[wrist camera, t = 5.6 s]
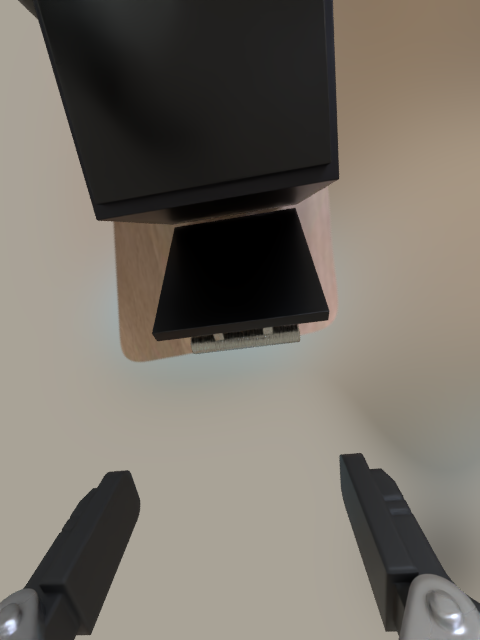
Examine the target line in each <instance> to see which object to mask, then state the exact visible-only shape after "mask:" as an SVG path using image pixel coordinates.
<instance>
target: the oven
mask: <svg viewBox="0 0 480 640" xmlns="http://www.w3.org/2000/svg"><path fill="white" fill-rule="evenodd" d="M33 3H34V7H35V10H36V14H37V17H38V20H39V24H40V27H41V31H42V34H43V37H44V41H45V44H46V48H47V51H48V54H49V58H50V61H51V65H52V68H53V72H54V75H55V78H56V82H57V85H58V89H59V92H60V96H61V99H62V102H63V106H64V109H65V113H66V116H67V120H68V123H69V126H70V130H71V133H72V137H73V140H74V144H75V147H76V151H77V154H78V157H79V161H80V164H81V168H82V171H83V174H84V178H85V181H86V185H87V188H88V192H89V195H90V199H91V202H92V205H93V208H94V212H95V216H96V219H97V220H98V221H116V222H135V223H153V224H171V225H173V224H179V223H185V222H191V221H197V220H203V219H210V218H216V217H222V216H228V215H234V214H240V213H246V212H252V211H258V210H264V209H270V208H276V207H282V206H289V205H295V204H298V203H299V202H301V201H303V200H304V199H306V198H308V197H310V196H311V195H313V194H315V193H316V192H318V191H320V190H321V189H323V188H325V187H326V186H328V185H330V184H331V183H333V182H335V181H336V180H338V179H339V163H338V162H339V160H338V133H337V105H336V79H335V78H336V77H335V51H334V21H333V0H33Z"/></svg>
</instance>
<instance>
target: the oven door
mask: <svg viewBox="0 0 480 640" xmlns="http://www.w3.org/2000/svg"><path fill="white" fill-rule="evenodd" d="M328 317H329V308H328V305H327V302H326V299H325V296H324V293H323V290H322V287H321V284H320V281H319V278H318V275H317V272H316V269H315V266H314V263H313V260H312V257H311V254H310V251H309V248H308V245H307V242H306V239H305V236H304V233H303V230H302V227H301V223H300V220H299V217H298V214H297V211H296V208H292V209H286V210H280V211H273V212H267V213H261V214H255V215H249V216H243V217H237V218H231V219H224V220H218V221H212V222H206V223H200V224H194V225H188V226H182V227H175V229H174V234H173V238H172V243H171V248H170V252H169V257H168V262H167V266H166V271H165V276H164V280H163V285H162V290H161V294H160V299H159V304H158V309H157V313H156V318H155V323H154V327H153V332H152V334H153V336H154V337H155V339H156V340H157V341H163V340H171V339H179V338H188V337H191V349H192V352H193V353H194V354H199V353H208V352H217V351H225V350H234V349H242V348H251V347H259V346H267V345H276V344H285V343H293V342H299V341H300V332H299V326H298V324H301V323H309V322H317V321H325V320H328Z"/></svg>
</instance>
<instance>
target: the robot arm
mask: <svg viewBox="0 0 480 640" xmlns="http://www.w3.org/2000/svg"><path fill="white" fill-rule="evenodd" d="M340 478H341V491H342V496H343V500H344V504H345V508H346V511H347V514H348V517H349V520H350V523H351V526H352V529H353V532H354V535H355V538H356V541H357V544H358V548H359V551H360V553H361V557H362V559H363V563H364V566H365V569H366V572H367V575H368V578H369V581H370V584H371V587H372V590H373V594H374V597H375V600H376V603H377V606H378V609H379V612H380V615H381V618H382V621H383V624H384V627H385V630H386V631H397V632H398V635H399V640H480V603H478V602H477V601H475V600H473V599H472V598H471V597H469V596H468V595H467V594H465V593H464V592H463V591H462V590H461V589H459V587H457V586H456V585H455V583H454V582H452V580H451V579H450V578H449V576H448V575H447V574H446V572H445V571H444V569H443V567H442V565H441V564H440V562H439V560H438V558H437V557H436V555H435V553H434V551H433V550H432V548H431V546H430V544H429V542H428V540H427V538H426V537H425V535H424V533H423V531H422V529H421V528H420V526H419V524H418V522H417V521H416V519H415V517H414V515H413V514H412V513H411V510H410V508H409V506H408V504H407V502H406V501H405V500H404V498H403V495H402V493H401V492H400V490H399V488H398V486H397V485H396V483H395V481H394V480H393V479H392V478H391V477H390V476H389V475H388V474H386V473H385V472H384V471H383V470H382V469H369V467H368V465H367V463H366V460H365V458H364V457H363V455H362V454H361V453H356V454H343V455H340ZM139 512H140V498H139V495H138V492H137V490H136V487H135V484H134V481H133V478H132V475H131V473H130V471H128V470H127V471H114V472H108V473H107V474H106V475H105V476H104V478H103V479H102V481H101V483H100V484H99V486H98V487H97V488H93V489H92V490H91V491H90V492H89V493H88V494H87V495H86V496H85V497H84V498H83V499H82V500H81V501H80V502H79V504H78V505H77V507H76V508H75V510H74V511H73V513H72V514H71V516H70V519H69V520H68V521H67V522H66V524H65V525H64V527H63V529H62V532H61V533H59V535H58V536H57V538H56V539H55V541H54V542H53V544H52V546H51V547H50V549H49V550H48V552H47V553H46V555H45V556H44V558H43V560H42V561H41V563H40V565H39V566H38V567H37V569H36V570H35V572H34V574H33V575H32V577H31V578H30V580H29V581H28V583H27V584H26V586H25V587H24V588H23V589H22V590H20V591H17V592H15V593H13V594H11V595H10V596H8V597H7V598H6V599H4V600H3V601H2V602H1V603H0V640H74V639H75V636H76V635H91V633H92V630H93V628H94V626H95V623H96V621H97V618H98V616H99V613H100V611H101V608H102V606H103V603H104V601H105V598H106V596H107V593H108V591H109V588H110V586H111V584H112V581H113V578H114V576H115V574H116V571H117V569H118V566H119V564H120V561H121V559H122V556H123V554H124V551H125V549H126V547H127V544H128V542H129V539H130V537H131V534H132V531H133V529H134V527H135V524H136V522H137V519H138V516H139Z"/></svg>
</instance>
